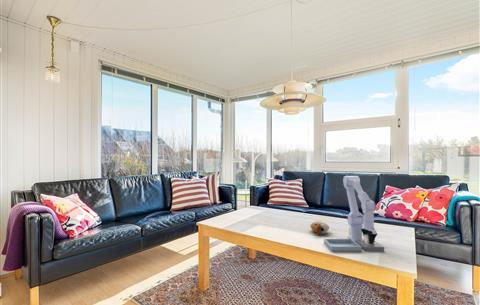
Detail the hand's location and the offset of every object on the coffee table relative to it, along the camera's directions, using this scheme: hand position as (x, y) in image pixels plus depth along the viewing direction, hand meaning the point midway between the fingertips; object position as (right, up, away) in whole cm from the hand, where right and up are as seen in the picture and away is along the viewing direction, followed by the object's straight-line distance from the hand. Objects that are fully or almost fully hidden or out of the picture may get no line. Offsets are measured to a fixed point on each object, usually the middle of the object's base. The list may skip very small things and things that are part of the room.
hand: (368, 242), depth 151 cm
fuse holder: (0, -3, 0) cm, 3 cm away
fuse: (0, -3, 0) cm, 3 cm away
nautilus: (-23, -5, +29) cm, 37 cm away
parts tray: (-17, -4, 0) cm, 17 cm away
